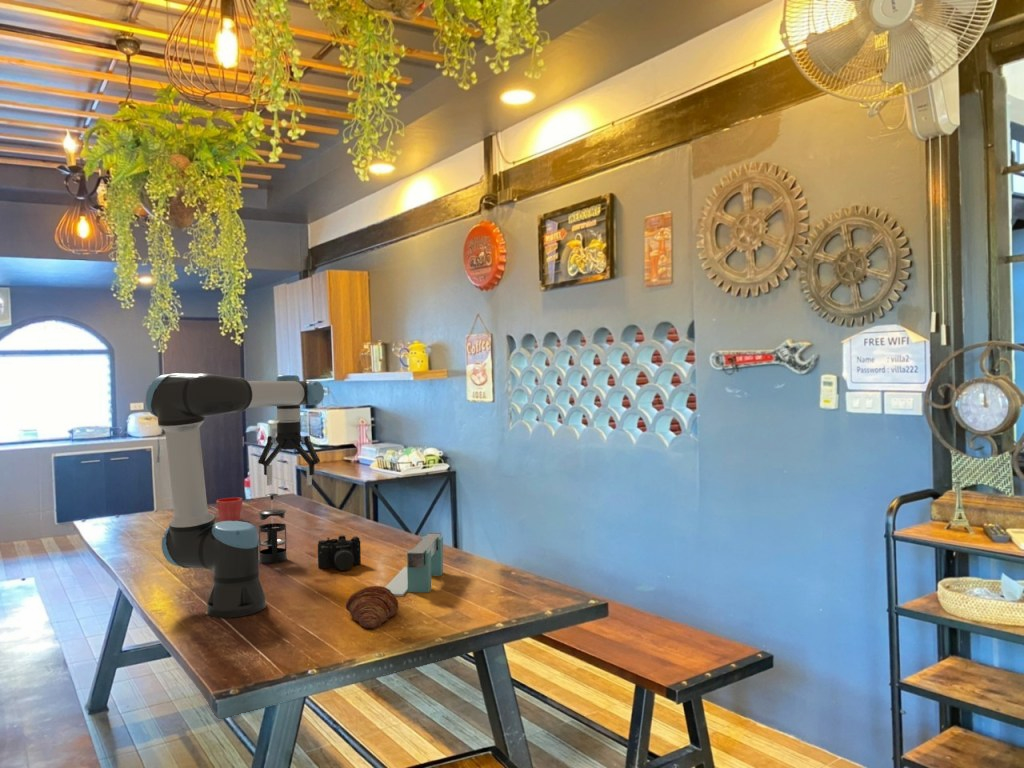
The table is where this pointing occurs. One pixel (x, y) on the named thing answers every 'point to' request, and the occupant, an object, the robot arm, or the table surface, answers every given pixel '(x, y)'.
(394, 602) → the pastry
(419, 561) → the rail
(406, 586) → the white flat board
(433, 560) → the post
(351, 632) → the table surface
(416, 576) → the post
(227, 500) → the flower pot
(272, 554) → the french press
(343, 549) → the camera
